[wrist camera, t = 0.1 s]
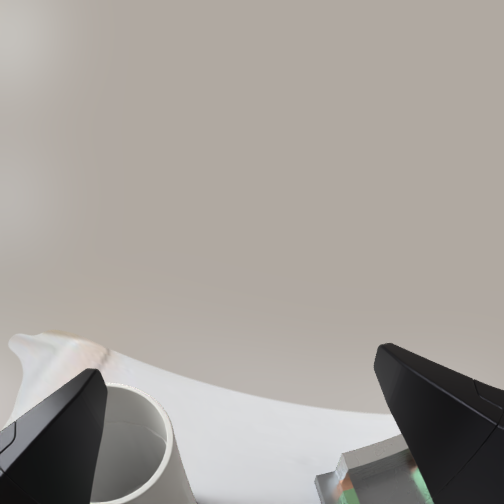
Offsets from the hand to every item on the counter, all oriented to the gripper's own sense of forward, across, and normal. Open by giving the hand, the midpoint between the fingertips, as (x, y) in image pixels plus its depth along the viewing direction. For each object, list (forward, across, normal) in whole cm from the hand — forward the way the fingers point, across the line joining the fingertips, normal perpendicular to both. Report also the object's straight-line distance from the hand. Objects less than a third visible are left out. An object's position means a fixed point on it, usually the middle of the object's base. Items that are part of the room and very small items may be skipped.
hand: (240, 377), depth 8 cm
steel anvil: (+2, -10, +15) cm, 18 cm away
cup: (+1, +7, +17) cm, 18 cm away
